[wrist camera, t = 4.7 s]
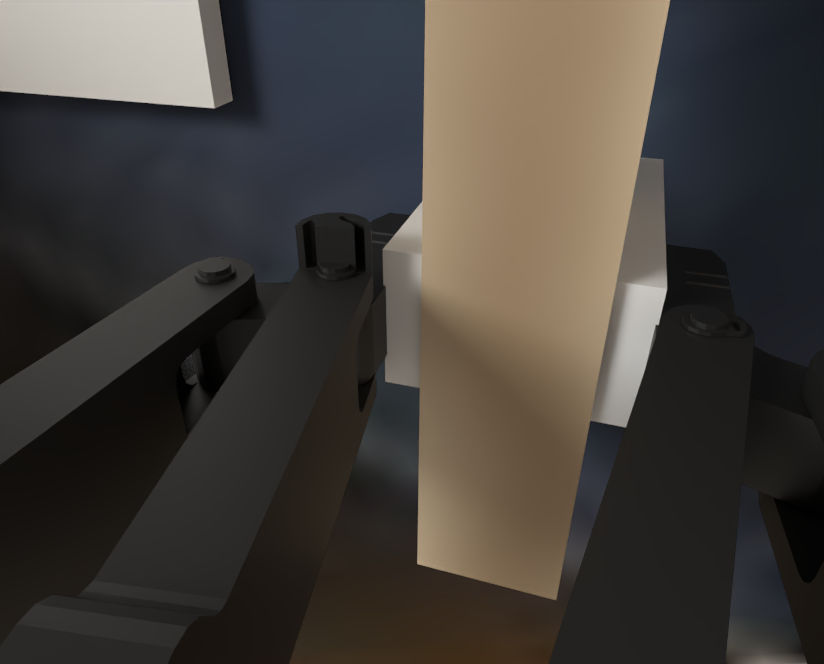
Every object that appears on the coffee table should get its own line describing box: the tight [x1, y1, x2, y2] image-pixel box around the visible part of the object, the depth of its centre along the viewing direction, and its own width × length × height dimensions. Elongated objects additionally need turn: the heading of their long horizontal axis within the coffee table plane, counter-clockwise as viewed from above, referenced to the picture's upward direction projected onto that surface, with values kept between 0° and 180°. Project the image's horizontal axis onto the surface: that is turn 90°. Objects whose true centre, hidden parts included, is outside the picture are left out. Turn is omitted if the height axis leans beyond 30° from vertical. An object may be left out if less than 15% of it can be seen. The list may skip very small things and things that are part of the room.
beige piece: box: [417, 0, 670, 600], centre depth 12 cm, size 14×17×7 cm
